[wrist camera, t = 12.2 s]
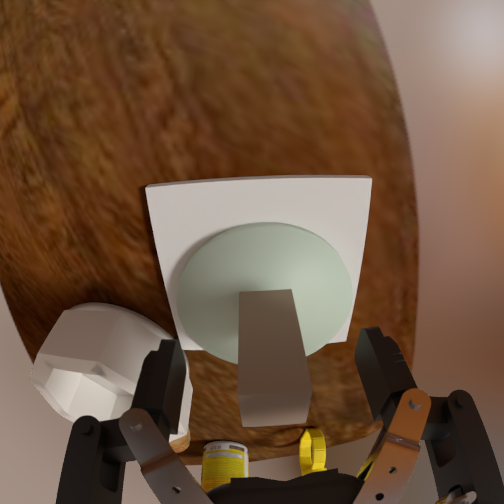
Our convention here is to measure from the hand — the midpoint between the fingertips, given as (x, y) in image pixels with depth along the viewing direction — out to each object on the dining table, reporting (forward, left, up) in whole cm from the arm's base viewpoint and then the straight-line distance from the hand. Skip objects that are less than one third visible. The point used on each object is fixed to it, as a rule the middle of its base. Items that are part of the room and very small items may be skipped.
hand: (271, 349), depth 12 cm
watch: (+23, +5, -7) cm, 25 cm away
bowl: (+8, -12, -6) cm, 16 cm away
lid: (+2, 0, -6) cm, 6 cm away
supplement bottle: (+26, -5, -7) cm, 27 cm away
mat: (0, 0, -6) cm, 6 cm away
